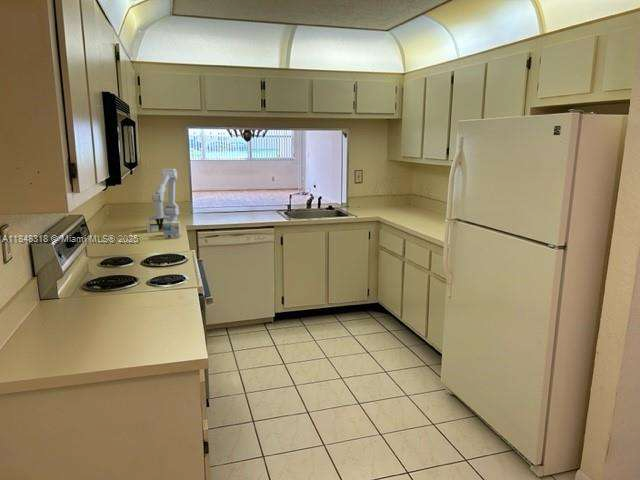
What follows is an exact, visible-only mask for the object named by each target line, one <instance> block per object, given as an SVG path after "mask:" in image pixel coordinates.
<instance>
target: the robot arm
mask: <svg viewBox="0 0 640 480" xmlns="http://www.w3.org/2000/svg"><path fill="white" fill-rule="evenodd" d="M160 172H161V179H160V183H159V184H158V185H157V188H156V190H155V191H154V193H153V194H152V196H151V200H152V203H153V205H154V207H153V208H154V216H148V219H149V220H150V221H152V220H155V223H156V224H158V226H159V230H161V226H162V223H164V220H166V221H178V215H179V214H180V209H179V205H178V204H177V203H176V182H177V180H178V171H177V168H162V169H161V171H160ZM167 184H168V185H167ZM166 186H167V187H166ZM167 188H168V190H167ZM166 190H167V202H166V203H165V205H164V200H165V192H166Z"/></svg>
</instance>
